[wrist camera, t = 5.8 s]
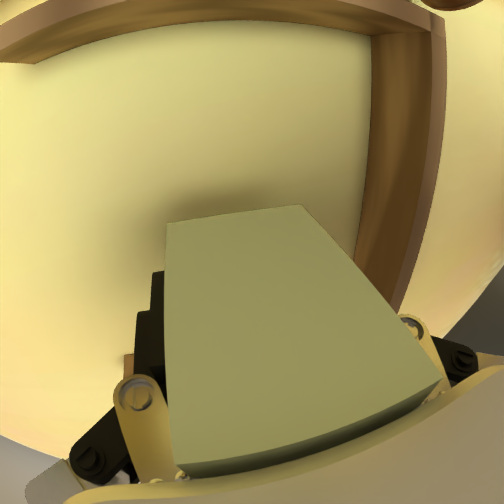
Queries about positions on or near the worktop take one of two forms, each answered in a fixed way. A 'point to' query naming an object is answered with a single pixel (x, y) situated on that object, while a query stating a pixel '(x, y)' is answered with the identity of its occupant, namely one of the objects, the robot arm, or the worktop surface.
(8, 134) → the worktop surface
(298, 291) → the block
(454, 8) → the tin
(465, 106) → the worktop surface
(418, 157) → the open frame
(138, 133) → the worktop surface
